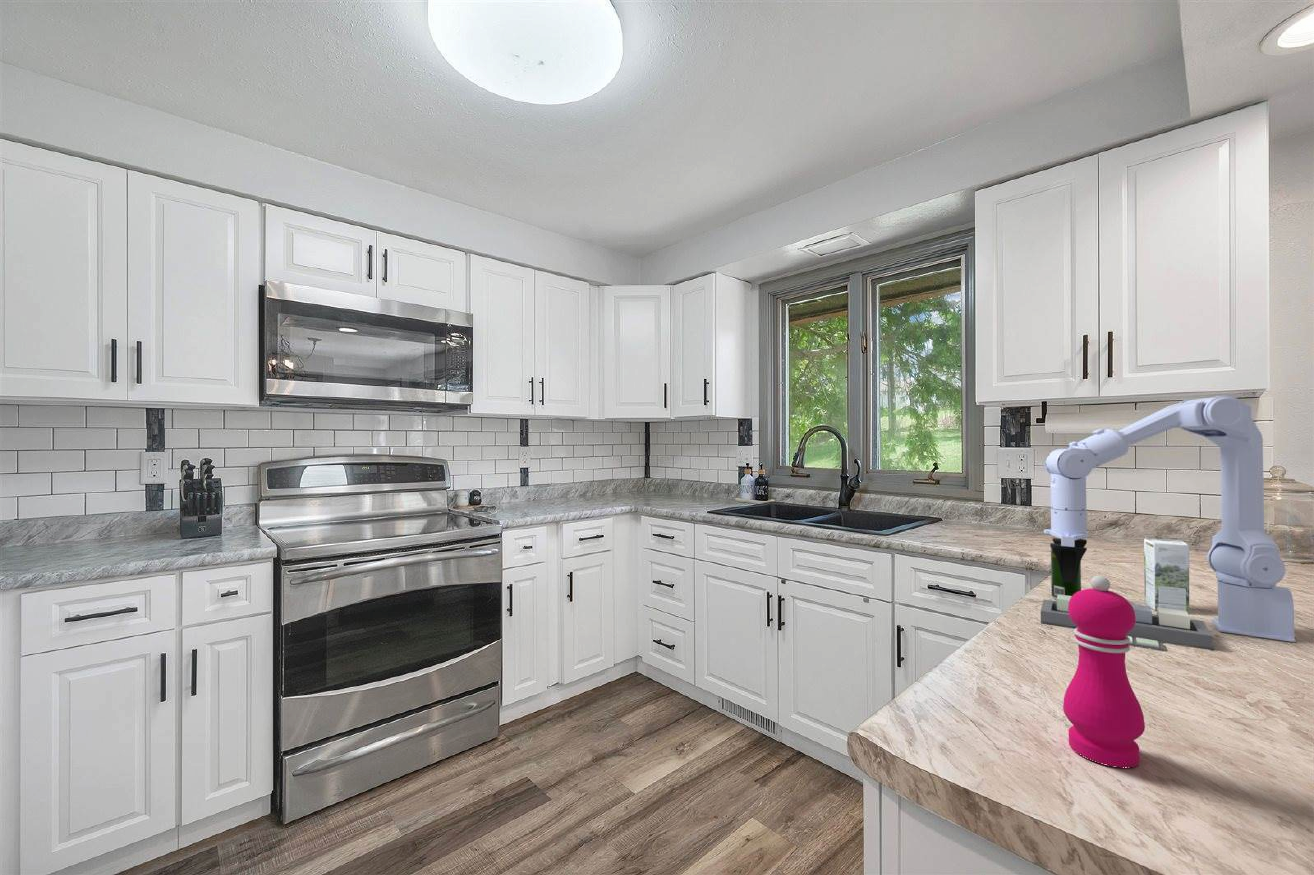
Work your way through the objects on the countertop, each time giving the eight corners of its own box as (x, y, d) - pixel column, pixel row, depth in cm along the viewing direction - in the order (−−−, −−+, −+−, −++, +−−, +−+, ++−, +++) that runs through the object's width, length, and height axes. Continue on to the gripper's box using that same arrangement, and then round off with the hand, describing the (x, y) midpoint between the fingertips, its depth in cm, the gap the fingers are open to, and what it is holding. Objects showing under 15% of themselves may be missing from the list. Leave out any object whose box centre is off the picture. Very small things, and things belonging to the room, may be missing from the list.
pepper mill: (1048, 738, 66) (1045, 569, 66) (1104, 735, 67) (1101, 568, 67) (1101, 774, 59) (1098, 584, 59) (1164, 770, 60) (1160, 583, 60)
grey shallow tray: (1203, 634, 102) (1203, 621, 102) (1213, 650, 94) (1213, 636, 94) (1043, 610, 116) (1043, 599, 116) (1040, 623, 108) (1040, 610, 108)
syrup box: (1178, 607, 119) (1177, 538, 119) (1190, 614, 113) (1189, 543, 114) (1144, 603, 121) (1143, 537, 121) (1154, 611, 116) (1153, 541, 116)
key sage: (1082, 608, 110) (1082, 597, 110) (1082, 613, 107) (1082, 602, 107) (1057, 605, 112) (1057, 594, 112) (1056, 609, 109) (1056, 598, 109)
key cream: (1186, 623, 101) (1186, 611, 101) (1190, 629, 98) (1189, 616, 98) (1157, 619, 103) (1156, 607, 103) (1159, 624, 100) (1159, 612, 100)
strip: (1162, 645, 96) (1162, 640, 96) (1164, 651, 93) (1164, 647, 94) (1082, 632, 103) (1082, 628, 103) (1082, 637, 100) (1082, 633, 100)
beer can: (1075, 604, 121) (1074, 549, 121) (1047, 599, 125) (1046, 545, 125) (1085, 600, 124) (1084, 546, 124) (1057, 595, 128) (1056, 543, 128)
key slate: (1150, 618, 104) (1149, 606, 104) (1152, 623, 101) (1151, 611, 101) (1122, 614, 106) (1121, 602, 106) (1123, 619, 103) (1123, 607, 103)
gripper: (1045, 504, 118) (1046, 568, 118) (1041, 511, 107) (1042, 582, 106) (1087, 506, 114) (1088, 573, 114) (1088, 514, 102) (1089, 588, 102)
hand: (1069, 578), depth 110 cm, fingers open, 7 cm apart
